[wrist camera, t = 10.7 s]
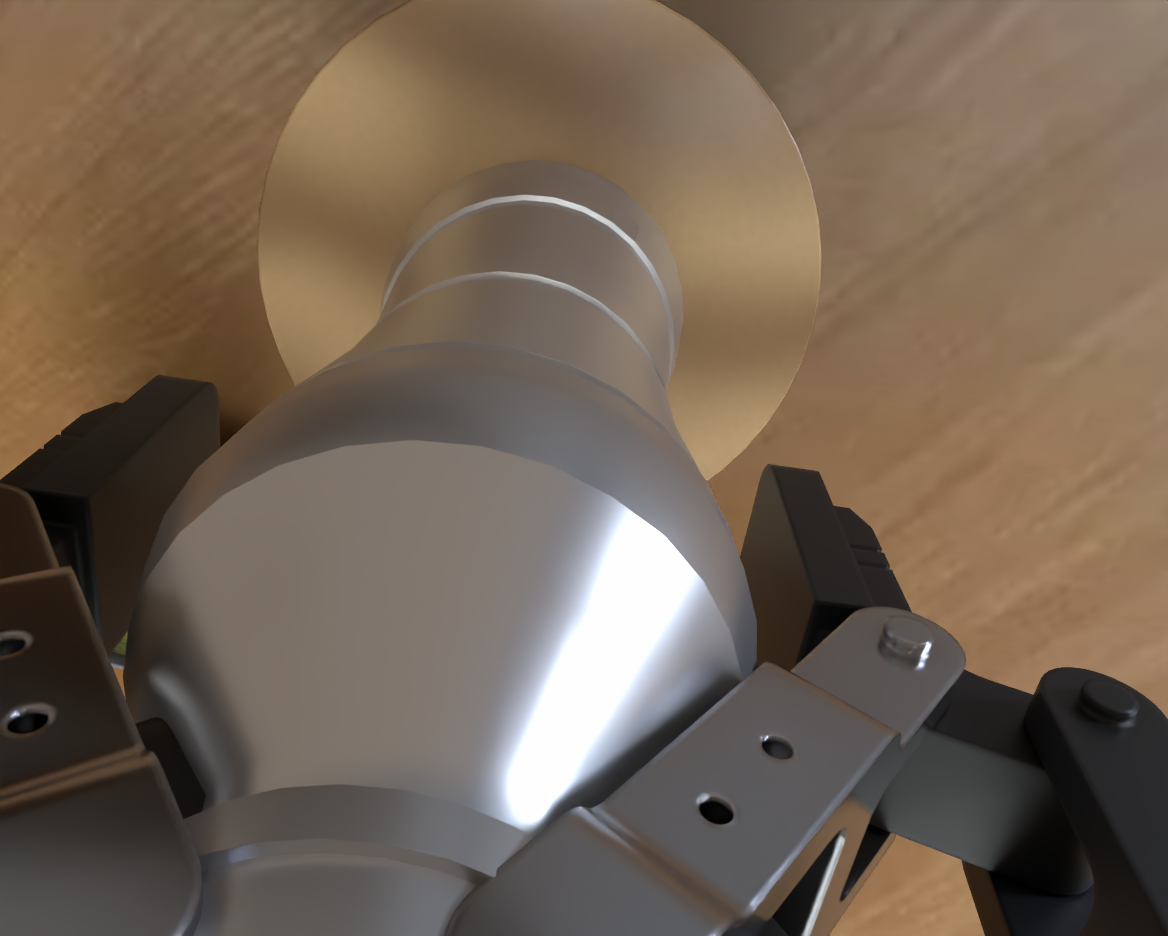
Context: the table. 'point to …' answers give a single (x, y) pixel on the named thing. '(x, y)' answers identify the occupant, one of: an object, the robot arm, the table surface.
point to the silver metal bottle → (444, 573)
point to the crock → (556, 134)
